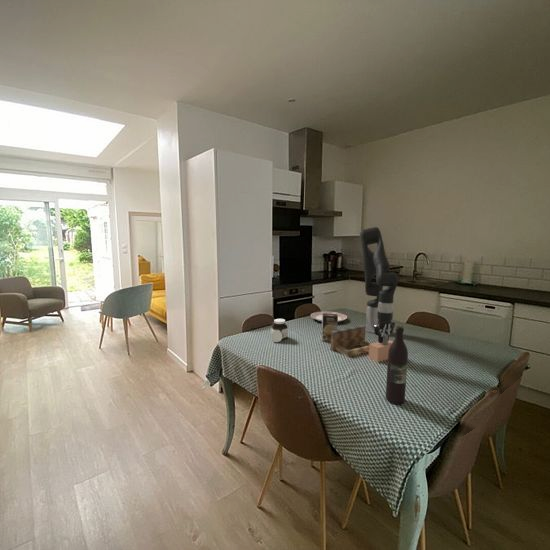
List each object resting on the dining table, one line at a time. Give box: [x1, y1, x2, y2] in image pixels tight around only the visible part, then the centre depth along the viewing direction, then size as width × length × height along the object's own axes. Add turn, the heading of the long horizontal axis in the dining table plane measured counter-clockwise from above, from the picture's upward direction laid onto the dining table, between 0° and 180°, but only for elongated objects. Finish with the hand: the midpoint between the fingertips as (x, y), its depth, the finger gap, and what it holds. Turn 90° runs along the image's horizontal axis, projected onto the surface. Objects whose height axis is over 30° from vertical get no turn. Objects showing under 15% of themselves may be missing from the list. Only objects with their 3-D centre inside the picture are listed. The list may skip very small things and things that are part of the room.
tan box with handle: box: [368, 332, 394, 363], centre depth 156 cm, size 14×6×13 cm, turn 118°
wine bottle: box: [385, 325, 409, 405], centre depth 115 cm, size 7×7×30 cm
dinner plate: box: [310, 311, 348, 323], centre depth 226 cm, size 28×27×3 cm
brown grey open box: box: [330, 324, 372, 358], centre depth 167 cm, size 24×12×11 cm, turn 118°
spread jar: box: [270, 318, 289, 343], centre depth 182 cm, size 12×11×12 cm
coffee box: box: [320, 313, 339, 343], centre depth 181 cm, size 9×6×16 cm
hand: (383, 341), depth 156 cm, fingers open, 3 cm apart
